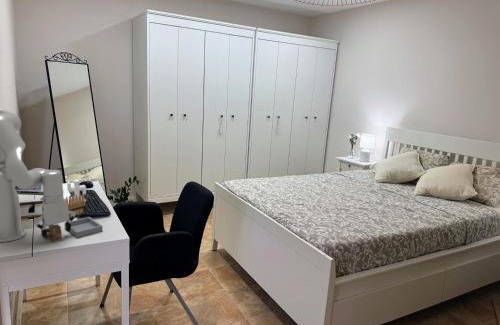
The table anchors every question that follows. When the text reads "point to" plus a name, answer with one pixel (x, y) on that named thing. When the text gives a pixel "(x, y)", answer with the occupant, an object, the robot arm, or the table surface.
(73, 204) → the ammunition clip
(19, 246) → the table surface
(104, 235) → the table surface
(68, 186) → the figurine
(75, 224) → the tray
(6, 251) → the table surface
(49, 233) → the wooden block toy
